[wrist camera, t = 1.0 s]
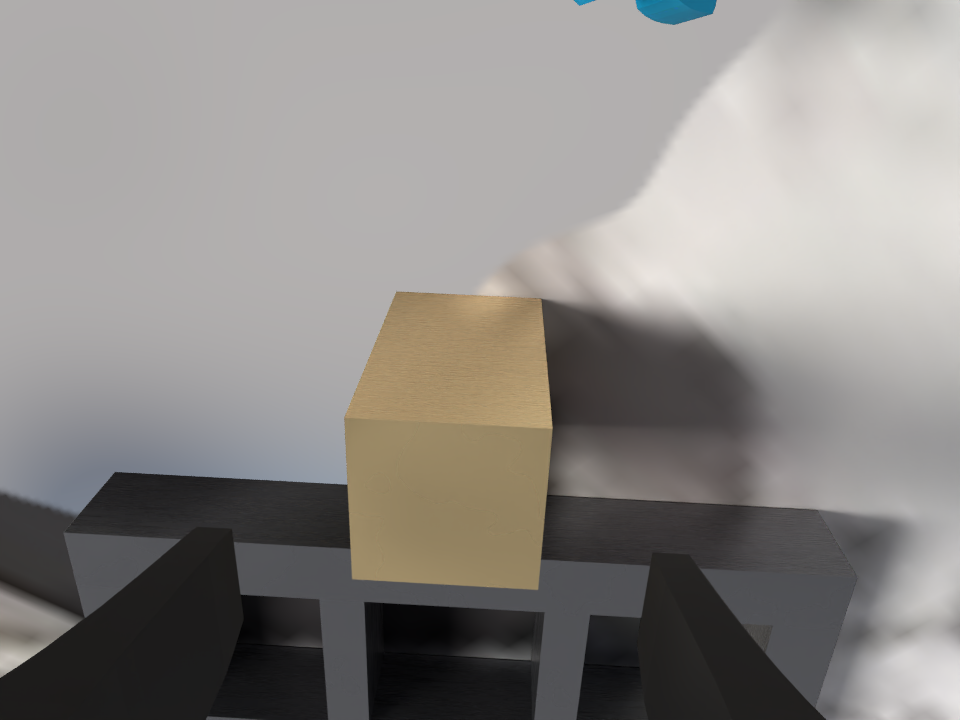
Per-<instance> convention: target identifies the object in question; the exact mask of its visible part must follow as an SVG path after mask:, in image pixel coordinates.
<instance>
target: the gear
mask: <svg viewBox="0 0 960 720" xmlns="http://www.w3.org/2000/svg"><path fill="white" fill-rule="evenodd" d="M574 1H575V2H576V3H577V4H578V5H583V4H586V3H589V2H591V1H595V0H574ZM636 4H637V9H638V10H639V11H640V12H642V14H644V15H645V16H646V17H648V18H650V19H652V20H654V21H657V22H660V23H665V24H672V25H675V24H679V23H682V22H686V21H689V20H693V19H696V18H700V17H703V16H707V15H710V14H713V11H714V9H715V6H716V0H636Z"/></svg>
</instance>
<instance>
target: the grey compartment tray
mask: <svg viewBox="0 0 960 720" xmlns="http://www.w3.org/2000/svg"><path fill="white" fill-rule="evenodd" d="M196 527H211V528H229V529H232V533H233V541H234V548H235V556H236V563H237V571H238V579H239V586H240V594H241V595H256V596H273V597H291V598H308V599H319V601H320V614H321V628H322V641H323V649H314V648H297V647H280V646H263V645H246V644H236V646H235V649H234V652H233V655H232V658H231V661H230V664H229V667H228V670H227V674H226V676H225V678H224V681H223V683H222V685H221V688H220V690H219V692H218V694H217V696H216V699H215V701H214V703H213V705H212V707H211V710H210V712H209V714H208V716H207V718H206V720H648V717H647V712H646V708H645V704H644V698H643V690H642V682H641V674H640V668H633V667H616V666H599V665H584V658H585V650H586V642H587V635H588V627H589V620H590V615H601V616H618V617H635V618H641V616H642V610H643V604H644V598H645V593H646V587H647V581H648V575H649V569H650V564H651V558H652V552H654V553H671V554H689V556H690V557H691V558H692V559H693V560H694V561H695V563H696V564H697V565H698V567H699V568H700V570H701V571H702V572H703V574H704V575H705V576H706V578H707V579H708V580H709V582H710V583H711V585H712V586H713V587H714V589H715V590H716V591H717V593H718V594H719V595H720V597H721V598H722V599H723V601H724V602H725V603H726V605H727V606H728V607H729V608H730V610H731V611H732V612H733V614H734V615H735V616H736V618H737V619H738V620H739V621H740V623H741V624H742V625H743V626H744V628H745V629H746V630H747V631H748V633H749V634H750V635H751V636H752V637H753V639H754V640H755V641H756V642H757V644H758V645H759V646H760V647H761V648H762V650H763V651H764V652H765V653H766V655H767V656H768V657H769V658H770V659H771V660H772V662H773V663H774V664H775V665H776V666H777V667H778V669H779V670H780V671H781V672H782V673H783V674H784V675H785V677H786V678H787V679H788V680H789V681H790V682H791V683H792V684H793V685H794V686H795V687H796V689H797V690H798V691H799V692H800V693H801V694H802V695H803V696H804V697H805V698H806V700H807V701H808V702H809V703H810V704H811V705H812V706H813V707H814V708H815V706H816V703H817V700H818V697H819V694H820V691H821V687H822V684H823V681H824V678H825V675H826V672H827V669H828V666H829V663H830V660H831V657H832V654H833V651H834V648H835V645H836V641H837V638H838V635H839V632H840V629H841V626H842V623H843V620H844V617H845V614H846V611H847V608H848V605H849V602H850V598H851V595H852V592H853V589H854V586H855V583H856V580H857V576H856V574H855V573H854V571H853V569H852V568H851V566H850V564H849V563H848V561H847V559H846V558H845V556H844V554H843V553H842V551H841V549H840V548H839V546H838V544H837V543H836V541H835V539H834V538H833V536H832V534H831V533H830V531H829V529H828V527H827V526H826V524H825V522H824V521H823V519H822V517H821V516H820V514H819V512H818V511H817V510H800V509H781V508H763V507H745V506H727V505H708V504H690V503H672V502H653V501H635V500H617V499H598V498H580V497H562V496H547V497H546V508H545V519H544V530H543V541H542V552H541V563H540V574H539V586H538V590H531V589H513V588H496V587H479V586H461V585H444V584H427V583H409V582H392V581H374V580H357V579H352V565H351V545H350V524H349V503H348V485H340V484H323V483H305V482H304V483H303V482H286V481H269V480H250V479H232V478H213V477H195V476H176V475H158V474H140V473H122V472H115V473H114V474H113V475H112V476H111V477H110V479H109V480H108V481H107V482H106V483H105V484H104V486H103V487H102V488H101V489H100V490H99V492H98V493H97V494H96V495H95V496H94V497H93V499H92V500H91V501H90V502H89V503H88V504H87V506H86V507H85V508H84V509H83V510H82V512H81V513H80V514H79V515H78V516H77V517H76V518H75V520H74V521H73V522H72V523H71V524H70V526H69V527H68V528H67V529H66V530H65V531H64V537H65V541H66V545H67V549H68V553H69V557H70V561H71V564H72V568H73V572H74V576H75V580H76V584H77V588H78V592H79V596H80V600H81V604H82V608H83V612H84V616H85V618H86V617H87V616H89V615H90V614H91V613H93V612H94V611H95V610H97V609H98V608H99V607H101V606H102V605H103V604H104V603H105V602H107V601H108V600H109V599H110V598H112V597H113V596H114V595H115V594H117V593H118V592H119V591H120V590H121V589H123V588H124V587H125V586H126V585H128V584H129V583H130V582H131V581H133V580H134V579H135V578H136V577H137V576H139V575H140V574H141V573H142V572H143V571H144V570H146V569H147V568H148V567H149V566H150V565H152V564H153V563H154V562H155V561H156V560H158V559H159V558H160V557H161V556H162V555H163V554H165V553H166V552H167V551H168V550H169V549H171V548H172V547H173V546H174V545H175V544H177V543H178V542H179V541H180V540H181V539H183V538H184V537H185V536H186V535H187V534H189V533H190V532H191V531H192V530H194V529H195V528H196ZM383 603H394V604H411V605H428V606H446V607H463V608H480V609H497V610H515V611H532V612H535V621H534V632H533V643H532V654H531V661H515V660H498V659H481V658H465V657H448V656H431V655H414V654H398V653H384V631H383Z"/></svg>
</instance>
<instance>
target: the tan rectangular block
mask: <svg viewBox="0 0 960 720" xmlns="http://www.w3.org/2000/svg"><path fill="white" fill-rule="evenodd" d="M344 420H345V440H346V461H347V482H348V503H349V524H350V545H351V565H352V579H357V580H374V581H392V582H409V583H427V584H444V585H461V586H479V587H496V588H513V589H531V590H538V586H539V574H540V563H541V552H542V541H543V530H544V519H545V508H546V497H547V486H548V475H549V463H550V452H551V441H552V430H553V427H552V416H551V405H550V393H549V382H548V371H547V359H546V348H545V337H544V325H543V314H542V303H541V299H537V298H517V297H496V296H476V295H457V294H436V293H435V294H434V293H415V292H396V294H395V296H394V299H393V301H392V304H391V306H390V308H389V311H388V313H387V316H386V318H385V320H384V323H383V326H382V328H381V330H380V333H379V335H378V337H377V340H376V342H375V345H374V347H373V350H372V352H371V355H370V357H369V359H368V362H367V364H366V367H365V369H364V371H363V374H362V376H361V379H360V381H359V383H358V386H357V388H356V391H355V393H354V396H353V398H352V400H351V403H350V405H349V408H348V410H347V413H346V415H345V417H344Z"/></svg>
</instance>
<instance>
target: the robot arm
mask: <svg viewBox="0 0 960 720" xmlns="http://www.w3.org/2000/svg"><path fill="white" fill-rule="evenodd" d="M243 620H244V617H243V609H242V601H241V594H240V586H239V579H238V571H237V563H236V556H235V548H234V541H233V533H232V529H229V528H211V527H196V528H195V529H194V530H192V531H191V532H190V533H189V534H187V535H186V536H185V537H184V538H183V539H181V540H180V541H179V542H178V543H177V544H175V545H174V546H173V547H172V548H171V549H169V550H168V551H167V552H166V553H165V554H163V555H162V556H161V557H160V558H159V559H158V560H156V561H155V562H154V563H153V564H152V565H150V566H149V567H148V568H147V569H146V570H144V571H143V572H142V573H141V574H140V575H139V576H137V577H136V578H135V579H134V580H133V581H131V582H130V583H129V584H128V585H126V586H125V587H124V588H123V589H121V590H120V591H119V592H118V593H117V594H115V595H114V596H113V597H112V598H110V599H109V600H108V601H107V602H105V603H104V604H103V605H102V606H101V607H99V608H98V609H97V610H95V611H94V612H93V613H91V614H90V615H89V616H87V617H86V618H85V619H83V620H82V621H81V622H79V623H78V624H77V625H75V626H74V627H73V628H71V629H70V630H69V631H67V632H66V633H65V634H63V635H62V636H61V637H59V638H58V639H57V640H55V641H54V642H53V643H51V644H50V645H49V646H47V647H46V648H44V649H43V650H41V651H40V652H39V653H37V654H36V655H34V656H33V657H31V658H30V659H28V660H27V661H25V662H24V663H22V664H21V665H20V666H18V667H17V668H15V669H13V670H12V671H10V672H9V673H7V674H6V675H4V676H3V677H1V678H0V720H206V718H207V716H208V714H209V712H210V710H211V707H212V705H213V703H214V701H215V699H216V696H217V694H218V692H219V690H220V688H221V685H222V683H223V681H224V678H225V676H226V674H227V670H228V667H229V664H230V661H231V658H232V655H233V652H234V649H235V646H236V643H237V639H238V636H239V633H240V630H241V626H242V623H243ZM637 647H638V656H639V665H640V674H641V682H642V690H643V698H644V704H645V708H646V712H647V717H648V720H826V719H825V718H824V717H823V716H822V715H821V714H820V713H819V712H818V711H817V710H816V709H815V708H814V707H813V706H812V705H811V704H810V703H809V702H808V701H807V700H806V698H805V697H804V696H803V695H802V694H801V693H800V692H799V691H798V690H797V689H796V687H795V686H794V685H793V684H792V683H791V682H790V681H789V680H788V679H787V678H786V677H785V675H784V674H783V673H782V672H781V671H780V670H779V669H778V667H777V666H776V665H775V664H774V663H773V662H772V660H771V659H770V658H769V657H768V656H767V655H766V653H765V652H764V651H763V650H762V648H761V647H760V646H759V645H758V644H757V642H756V641H755V640H754V639H753V637H752V636H751V635H750V634H749V633H748V631H747V630H746V629H745V628H744V626H743V625H742V624H741V623H740V621H739V620H738V619H737V618H736V616H735V615H734V614H733V612H732V611H731V610H730V608H729V607H728V606H727V605H726V603H725V602H724V601H723V599H722V598H721V597H720V595H719V594H718V593H717V591H716V590H715V589H714V587H713V586H712V585H711V583H710V582H709V580H708V579H707V578H706V576H705V575H704V574H703V572H702V571H701V570H700V568H699V567H698V565H697V564H696V563H695V561H694V560H693V559H692V558H691V557H690V556H689V554H671V553H654V552H652V558H651V564H650V569H649V575H648V581H647V587H646V593H645V598H644V604H643V610H642V616H641V622H640V627H639V633H638V639H637Z"/></svg>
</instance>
